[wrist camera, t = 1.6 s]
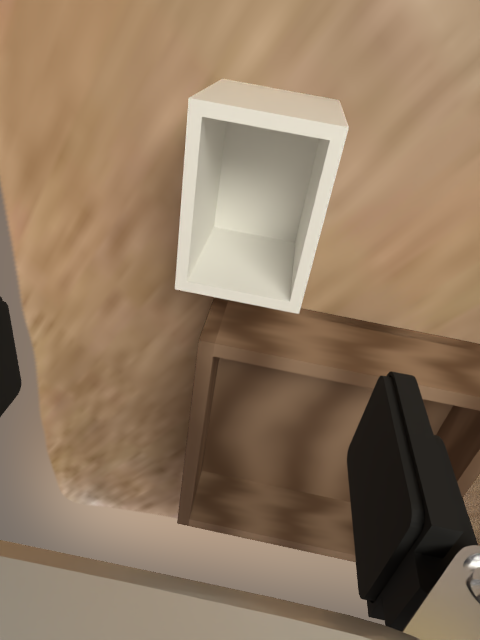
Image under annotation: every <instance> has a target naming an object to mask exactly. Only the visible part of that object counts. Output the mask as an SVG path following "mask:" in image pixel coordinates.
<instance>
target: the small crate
mask: <svg viewBox="0 0 480 640" xmlns="http://www.w3.org/2000/svg"><path fill="white" fill-rule="evenodd" d="M348 129H349V127H348V124H347V121H346V118H345V115H344V112H343V109H342V106H341V104H340V101H339V100H337V99H332V98H326V97H321V96H315V95H310V94H304V93H299V92H293V91H288V90H282V89H277V88H271V87H266V86H261V85H255V84H250V83H244V82H239V81H233V80H228V79H221V80H219V81H217V82H216V83H214V84H212V85H210V86H209V87H207V88H205V89H203V90H202V91H200V92H198V93H196V94H195V95H193V96H191V97H189V102H188V115H187V129H186V143H185V157H184V170H183V184H182V198H181V211H180V225H179V239H178V252H177V266H176V280H175V289H176V290H181V291H186V292H191V293H196V294H201V295H206V296H211V297H216V298H221V299H226V300H231V301H236V302H241V303H246V304H251V305H256V306H261V307H266V308H271V309H276V310H281V311H286V312H291V313H296V314H299V312H300V308H301V305H302V301H303V297H304V293H305V290H306V286H307V282H308V278H309V275H310V271H311V267H312V263H313V260H314V256H315V252H316V248H317V245H318V241H319V237H320V233H321V230H322V226H323V222H324V218H325V215H326V211H327V207H328V203H329V200H330V196H331V192H332V188H333V185H334V181H335V177H336V173H337V170H338V166H339V162H340V158H341V155H342V151H343V147H344V144H345V140H346V136H347V132H348Z"/></svg>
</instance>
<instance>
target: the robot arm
mask: <svg viewBox="0 0 480 640" xmlns="http://www.w3.org/2000/svg"><path fill="white" fill-rule="evenodd" d="M20 388H21V377H20V371H19V366H18V360H17V354H16V349H15V343H14V338H13V331H12V326H11V320H10V314H9V308H8V305H7V304H6V302H4V301H2V298H1V297H0V417H1V415H2V414H3V413H4V411H5V410H6V409H7V408H8V406H9V405H10V404H11V403H12V401H13V400H14V399H15V397H16V396H17V395H18V393H19V391H20ZM347 470H348V481H349V492H350V502H351V513H352V524H353V535H354V546H355V557H356V568H357V579H358V589H359V595H360V597H361V599H365V600H367V606H368V615H369V617H372V618H377V619H381V620H385V625H386V626H384V625H381V624H378V623H374V622H371V621H367V620H364V619H360V618H356V617H353V616H350V615H345V614H341V613H337V612H332V611H328V610H324V609H319V608H315V607H311V606H307V605H303V604H298V603H294V602H290V601H285V600H281V599H276V598H273V597H268V596H263V595H258V594H254V593H249V592H245V591H240V590H235V589H231V588H226V587H221V586H216V585H211V584H207V583H202V582H198V581H193V580H188V579H184V578H179V577H174V576H170V575H165V574H161V573H156V572H151V571H146V570H141V569H137V568H132V567H127V566H122V565H118V564H113V563H108V562H103V561H99V560H94V559H89V558H84V557H80V556H75V555H70V554H65V553H60V552H56V551H51V550H46V549H41V548H36V547H31V546H26V545H22V544H17V543H12V542H7V541H2V540H0V640H480V546H478V544H477V541H476V538H475V535H474V532H473V529H472V526H471V522H470V519H469V516H468V513H467V510H466V507H465V504H464V501H463V498H462V495H461V492H460V489H459V486H458V483H457V480H456V477H455V474H454V471H453V468H452V465H451V462H450V459H449V456H448V453H447V450H446V447H445V444H444V442H443V440H442V438H440V437H439V436H437V435H434V434H433V431H432V428H431V425H430V422H429V418H428V415H427V412H426V409H425V405H424V402H423V399H422V396H421V393H420V389H419V386H418V383H417V380H416V378H415V376H413V375H408V374H403V373H398V372H392V371H391V372H389V373H388V374H387V376H380V377H379V378H378V380H377V383H376V385H375V387H374V390H373V392H372V394H371V397H370V399H369V401H368V404H367V406H366V408H365V411H364V413H363V415H362V418H361V420H360V422H359V424H358V427H357V429H356V431H355V434H354V436H353V438H352V441H351V443H350V445H349V448H348V452H347Z"/></svg>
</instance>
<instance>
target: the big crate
mask: <svg viewBox="0 0 480 640" xmlns="http://www.w3.org/2000/svg"><path fill="white" fill-rule="evenodd" d="M391 371H392V372H398V373H403V374H408V375H413V376H415V378H416V380H417V383H418V386H419V389H420V393H421V396H422V399H423V402H424V405H425V409H426V412H427V415H428V418H429V422H430V425H431V428H432V431H433V434H434V435H437V436H439V437H440V438H442V440H443V442H444V444H445V447H446V450H447V453H448V456H449V459H450V462H451V465H452V468H453V471H454V474H455V477H456V480H457V483H458V486H459V489H460V492H461V495H462V497H463V496H464V495H465V493H466V492H467V491H468V489H469V488H470V486H471V485H472V484H473V482H474V481H475V479H476V478H477V477H478V475H479V474H480V344H477V343H472V342H467V341H462V340H457V339H452V338H447V337H442V336H437V335H432V334H427V333H422V332H417V331H412V330H407V329H402V328H397V327H392V326H387V325H382V324H377V323H372V322H367V321H362V320H356V319H351V318H346V317H341V316H336V315H331V314H326V313H321V312H316V311H311V310H306V309H301V308H300V312H299V314H296V313H291V312H286V311H281V310H276V309H271V308H266V307H261V306H256V305H251V304H246V303H241V302H236V301H231V300H226V299H221V298H216V297H214V300H213V303H212V305H211V308H210V311H209V314H208V316H207V319H206V322H205V325H204V327H203V330H202V333H201V335H200V338H199V342H198V351H197V359H196V368H195V376H194V385H193V393H192V402H191V410H190V419H189V427H188V436H187V445H186V453H185V462H184V470H183V479H182V487H181V496H180V504H179V513H178V521H177V523H178V524H183V525H187V526H192V527H196V528H201V529H206V530H210V531H215V532H220V533H224V534H229V535H233V536H238V537H242V538H247V539H252V540H257V541H261V542H266V543H271V544H275V545H279V546H284V547H289V548H293V549H298V550H302V551H307V552H312V553H316V554H321V555H325V556H330V557H335V558H339V559H344V560H348V561H353V562H356V557H355V546H354V535H353V524H352V513H351V502H350V492H349V481H348V470H347V452H348V448H349V445H350V443H351V441H352V438H353V436H354V434H355V431H356V429H357V427H358V424H359V422H360V420H361V418H362V415H363V413H364V411H365V408H366V406H367V404H368V401H369V399H370V397H371V394H372V392H373V390H374V387H375V385H376V383H377V380H378V378H379V377H380V376H387V374H388V373H389V372H391Z"/></svg>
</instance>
